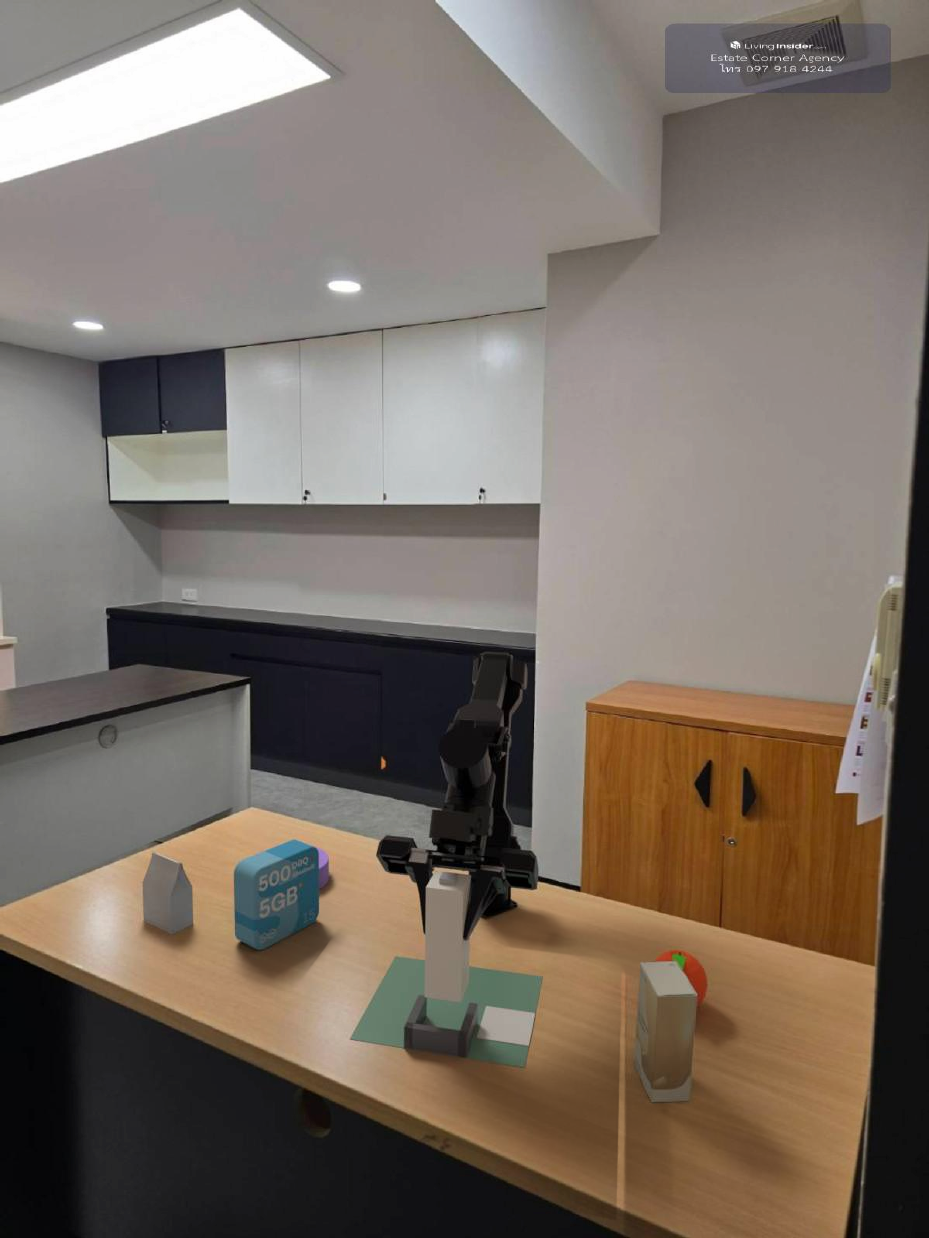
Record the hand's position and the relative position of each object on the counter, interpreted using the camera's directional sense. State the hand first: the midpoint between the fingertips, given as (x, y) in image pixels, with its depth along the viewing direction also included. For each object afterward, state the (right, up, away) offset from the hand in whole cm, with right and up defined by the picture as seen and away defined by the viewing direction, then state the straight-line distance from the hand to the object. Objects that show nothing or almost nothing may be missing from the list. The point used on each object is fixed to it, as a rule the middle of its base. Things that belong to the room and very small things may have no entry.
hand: (445, 936), depth 86 cm
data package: (-25, -10, +26) cm, 38 cm away
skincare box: (+23, -15, -3) cm, 28 cm away
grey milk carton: (-42, -10, +28) cm, 51 cm away
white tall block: (0, -7, +2) cm, 7 cm away
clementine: (+29, -13, +10) cm, 33 cm away
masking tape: (-26, -8, +42) cm, 51 cm away
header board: (+1, -13, +8) cm, 15 cm away
